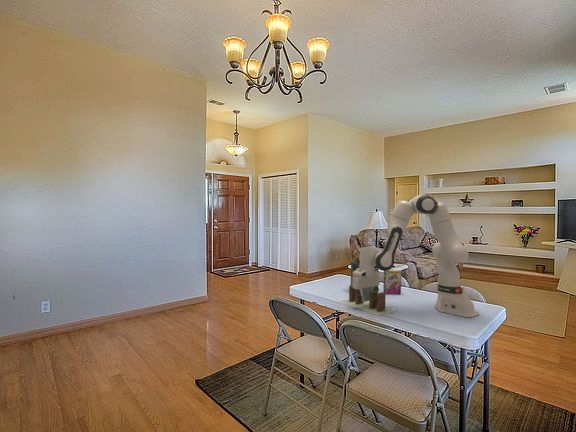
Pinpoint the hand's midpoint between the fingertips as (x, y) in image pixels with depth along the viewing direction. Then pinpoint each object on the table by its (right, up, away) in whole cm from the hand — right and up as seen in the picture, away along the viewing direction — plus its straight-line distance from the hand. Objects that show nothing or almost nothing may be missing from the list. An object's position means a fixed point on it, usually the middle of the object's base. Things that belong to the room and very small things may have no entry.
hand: (366, 294), depth 185 cm
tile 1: (+6, -7, -9) cm, 13 cm away
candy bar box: (+26, -7, +30) cm, 40 cm away
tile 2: (+3, -7, -4) cm, 9 cm away
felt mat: (0, -7, 0) cm, 7 cm away
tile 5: (-6, -7, +9) cm, 13 cm away
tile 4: (-3, -7, +5) cm, 9 cm away
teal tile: (0, -4, 0) cm, 4 cm away
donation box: (+6, -7, +34) cm, 35 cm away
